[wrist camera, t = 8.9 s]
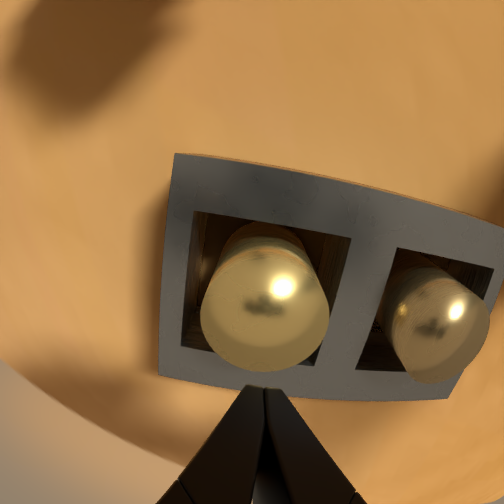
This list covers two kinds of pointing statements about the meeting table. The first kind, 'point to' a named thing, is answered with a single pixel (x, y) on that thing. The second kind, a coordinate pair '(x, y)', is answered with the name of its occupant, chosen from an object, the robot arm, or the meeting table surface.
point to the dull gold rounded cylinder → (430, 319)
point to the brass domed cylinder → (264, 300)
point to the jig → (329, 272)
